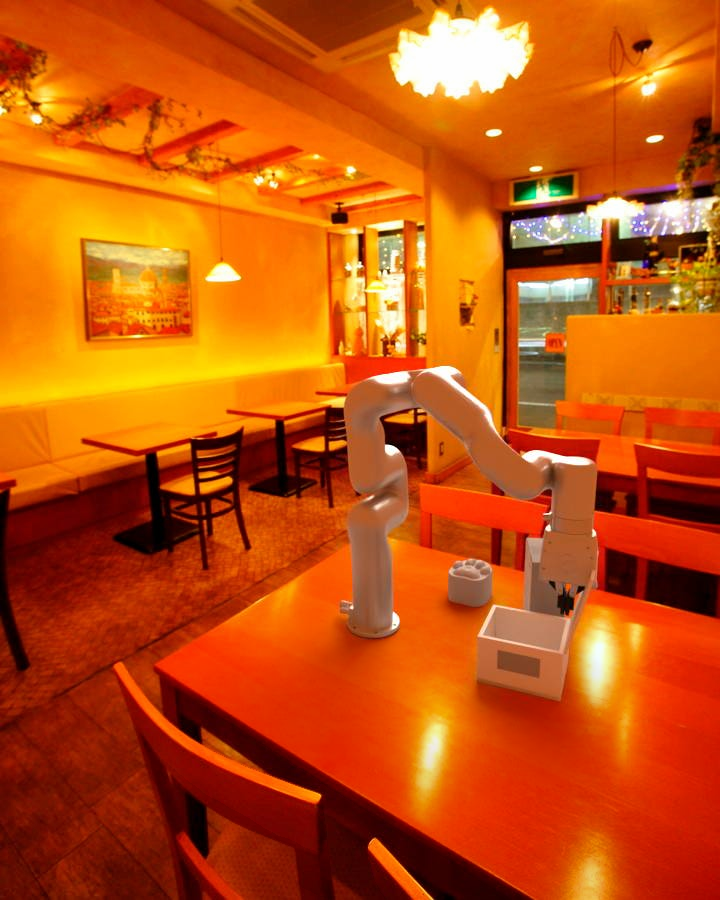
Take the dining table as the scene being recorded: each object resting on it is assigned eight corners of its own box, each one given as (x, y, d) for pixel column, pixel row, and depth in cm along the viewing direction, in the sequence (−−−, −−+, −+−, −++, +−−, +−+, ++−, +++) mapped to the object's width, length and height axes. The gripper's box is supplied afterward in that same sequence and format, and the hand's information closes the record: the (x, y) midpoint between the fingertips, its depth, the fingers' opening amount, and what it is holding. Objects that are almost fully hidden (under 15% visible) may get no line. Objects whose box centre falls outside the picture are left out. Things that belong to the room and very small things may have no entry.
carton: (476, 681, 115) (477, 636, 112) (492, 645, 127) (493, 604, 125) (560, 701, 108) (563, 654, 106) (568, 661, 120) (570, 618, 118)
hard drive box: (563, 649, 125) (568, 565, 120) (527, 646, 126) (530, 563, 122) (554, 614, 140) (558, 537, 135) (521, 612, 141) (524, 536, 137)
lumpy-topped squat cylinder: (443, 599, 149) (443, 569, 147) (461, 580, 159) (462, 551, 157) (482, 609, 143) (482, 577, 141) (498, 588, 154) (499, 558, 152)
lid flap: (590, 579, 101) (594, 580, 100) (595, 550, 113) (599, 551, 113) (563, 653, 106) (567, 655, 106) (570, 617, 118) (574, 619, 118)
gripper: (527, 524, 107) (522, 613, 111) (614, 535, 101) (605, 629, 105) (533, 511, 113) (528, 596, 118) (615, 521, 107) (607, 610, 111)
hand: (565, 611), depth 111 cm, fingers closed
